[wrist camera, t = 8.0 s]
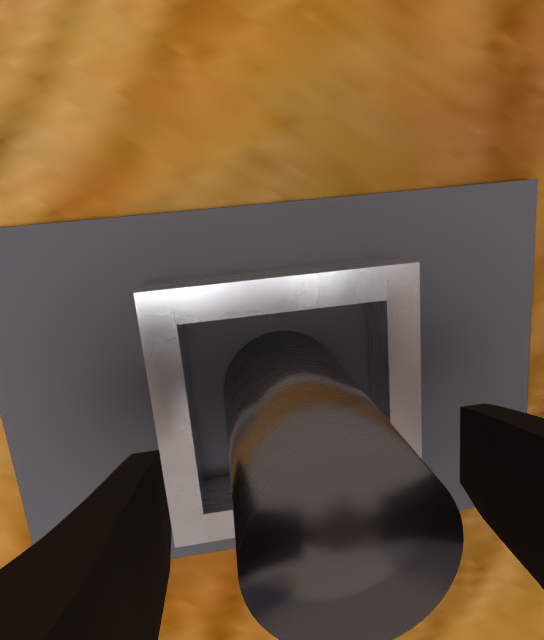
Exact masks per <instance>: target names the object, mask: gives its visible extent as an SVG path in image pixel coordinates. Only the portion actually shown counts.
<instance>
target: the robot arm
mask: <svg viewBox="0 0 544 640" xmlns="http://www.w3.org/2000/svg"><path fill="white" fill-rule="evenodd" d="M460 483H461V485H462V487H463V488H464V490H465V492H466V493H467V495H468V496H469V498H470V500H471V501H472V503H473V504H474V506H475V507H476V509H477V510H478V512H479V513H480V515H481V516H482V518H483V519H484V520H485V521H486V522H487V524H488V525H489V526H490V527H491V528H492V530H493V531H494V532H495V533H496V534H497V536H498V537H499V538H500V539H501V540H502V541H503V543H504V544H505V545H506V546H507V547H508V548H509V550H510V551H511V552H512V553H513V554H514V555H515V557H516V558H517V559H518V560H519V561H520V562H521V563H522V565H523V566H524V567H525V568H526V569H527V570H528V572H529V573H530V574H531V575H532V576H533V577H534V578H535V580H536V581H537V582H538V583H539V584H540V585H541V587H542V588H543V589H544V418H541V417H537V416H534V415H530V414H527V413H524V412H520V411H516V410H513V409H509V408H505V407H501V406H496V405H491V404H485V403H483V404H476V405H469V406H462V407H460ZM171 534H172V527H171V520H170V514H169V508H168V502H167V496H166V490H165V484H164V477H163V471H162V465H161V459H160V453H159V450H154V451H147V452H140V453H133V454H131V455H130V456H129V457H127V458H126V459H125V460H124V461H123V462H122V463H121V464H120V465H119V466H118V467H117V468H116V469H115V470H114V471H113V472H112V473H111V474H110V475H109V476H108V477H107V478H106V479H105V480H104V481H103V482H102V483H101V484H100V485H99V486H98V487H97V488H96V489H95V490H94V491H93V492H92V493H91V494H90V495H89V496H88V497H87V498H86V499H85V500H84V501H83V502H82V503H81V504H80V505H79V506H78V507H76V508H75V509H74V510H73V511H72V512H71V513H70V514H69V515H67V516H66V517H65V518H64V519H63V520H62V521H61V522H60V523H58V524H57V525H56V526H55V527H54V528H53V529H52V530H51V531H50V532H48V533H47V534H46V535H45V536H43V537H42V538H41V539H40V540H39V541H37V542H36V543H35V544H33V545H32V546H31V547H30V548H28V549H27V550H26V551H24V552H23V553H22V554H20V555H19V556H18V557H16V558H15V559H14V560H12V561H11V562H10V563H8V564H7V565H6V566H4V567H3V568H1V569H0V640H158V636H159V630H160V625H161V619H162V613H163V608H164V602H165V596H166V590H167V584H168V578H169V572H170V556H171Z"/></svg>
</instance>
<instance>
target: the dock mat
mask: <svg viewBox="0 0 544 640" xmlns="http://www.w3.org/2000/svg"><path fill="white" fill-rule="evenodd" d="M537 182H538V179H531V180H520V181H509V182H498V183H487V184H476V185H465V186H454V187H443V188H432V189H421V190H410V191H399V192H388V193H377V194H366V195H355V196H344V197H333V198H322V199H311V200H300V201H289V202H278V203H267V204H256V205H245V206H234V207H223V208H213V209H202V210H191V211H180V212H169V213H158V214H147V215H136V216H125V217H114V218H103V219H92V220H81V221H70V222H59V223H48V224H37V225H26V226H15V227H4V228H0V414H1V418H2V422H3V426H4V430H5V434H6V438H7V442H8V446H9V450H10V454H11V458H12V462H13V466H14V470H15V474H16V478H17V482H18V486H19V490H20V494H21V498H22V502H23V506H24V510H25V514H26V518H27V522H28V526H29V530H30V534H31V538H32V542H33V544H35V543H36V542H37V541H39V540H40V539H41V538H42V537H43V536H45V535H46V534H47V533H48V532H50V531H51V530H52V529H53V528H54V527H55V526H56V525H57V524H58V523H60V522H61V521H62V520H63V519H64V518H65V517H66V516H67V515H69V514H70V513H71V512H72V511H73V510H74V509H75V508H76V507H78V506H79V505H80V504H81V503H82V502H83V501H84V500H85V499H86V498H87V497H88V496H89V495H90V494H91V493H92V492H93V491H94V490H95V489H96V488H97V487H98V486H99V485H100V484H101V483H102V482H103V481H104V480H105V479H106V478H107V477H108V476H109V475H110V474H111V473H112V472H113V471H114V470H115V469H116V468H117V467H118V466H119V465H120V464H121V463H122V462H123V461H124V460H125V459H126V458H127V457H129V456H130V455H131V454H133V453H140V452H147V451H154V450H159V447H158V441H157V435H156V428H155V422H154V416H153V410H152V404H151V398H150V392H149V385H148V379H147V373H146V367H145V361H144V355H143V349H142V342H141V336H140V330H139V324H138V318H137V312H136V306H135V299H134V292H135V291H136V290H137V289H138V288H139V286H140V285H141V284H142V283H143V282H148V281H157V280H167V279H176V278H185V277H195V276H204V275H214V274H223V273H233V272H242V271H251V270H261V269H270V268H280V267H289V266H299V265H308V264H317V263H327V262H336V261H346V260H355V259H365V258H374V257H383V256H397V257H401V258H405V259H409V260H413V261H417V262H420V340H421V420H422V460H423V461H424V462H425V464H426V465H427V466H428V467H429V468H430V469H431V471H432V472H433V473H434V474H435V475H436V476H437V478H438V479H439V480H440V481H441V482H442V484H443V485H444V486H445V487H446V488H447V490H448V491H449V492H450V494H451V496H452V497H453V499H454V501H455V503H456V505H457V508H458V510H462V509H468V508H474V507H475V506H474V504H473V503H472V501H471V500H470V498H469V496H468V495H467V493H466V492H465V490H464V488H463V487H462V485H461V483H460V407H462V406H469V405H476V404H483V403H485V404H491V405H496V406H501V407H505V408H509V409H513V410H516V411H520V412H524V413H527V396H528V375H529V353H530V332H531V310H532V289H533V267H534V246H535V225H536V203H537ZM183 330H184V337H185V344H186V351H187V358H188V366H189V373H190V380H191V387H192V394H193V401H194V409H195V416H196V423H197V430H198V437H199V445H200V452H201V459H202V466H203V473H204V478H208V477H215V476H221V475H228V474H230V468H229V455H228V443H227V431H226V418H225V406H224V392H223V386H224V379H225V374H226V371H227V369H228V366H229V364H230V363H231V361H232V359H233V358H234V356H235V355H236V354H237V352H238V351H239V350H240V349H241V348H242V347H243V346H245V345H246V344H247V343H248V342H250V341H251V340H253V339H255V338H257V337H259V336H261V335H264V334H267V333H270V332H275V331H295V332H300V333H303V334H306V335H309V336H311V337H313V338H315V339H316V340H317V341H319V342H320V343H322V344H323V345H324V346H325V347H326V348H327V349H328V350H329V352H330V353H331V354H332V355H333V356H334V357H335V359H336V360H337V361H338V362H339V363H340V364H341V366H342V367H343V368H344V369H345V370H346V371H347V373H348V374H349V375H350V376H351V377H352V378H353V380H354V381H355V382H356V383H357V384H358V385H359V387H360V388H361V389H362V390H363V391H364V392H365V394H366V395H367V396H368V397H369V387H368V363H367V339H366V315H365V303H359V304H350V305H342V306H333V307H325V308H316V309H308V310H299V311H290V312H282V313H273V314H265V315H256V316H248V317H239V318H230V319H222V320H213V321H205V322H196V323H187V324H183ZM232 548H236V542H235V538H231V539H225V540H219V541H213V542H207V543H201V544H195V545H189V546H183V547H177V548H175V545H174V539H173V533H172V534H171V556H170V559H173V558H179V557H185V556H191V555H196V554H202V553H208V552H214V551H220V550H226V549H232Z"/></svg>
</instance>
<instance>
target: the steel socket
mask: <svg viewBox="0 0 544 640" xmlns="http://www.w3.org/2000/svg"><path fill="white" fill-rule="evenodd" d="M134 299H135V306H136V312H137V318H138V324H139V330H140V336H141V342H142V349H143V355H144V361H145V367H146V373H147V379H148V385H149V392H150V398H151V404H152V410H153V416H154V422H155V428H156V435H157V441H158V447H159V453H160V459H161V465H162V471H163V477H164V484H165V490H166V496H167V502H168V508H169V514H170V520H171V527H172V533H173V539H174V545H175V548H177V547H183V546H189V545H195V544H201V543H207V542H213V541H219V540H225V539H231V538H235V530H234V517H233V505H232V492H231V480H230V474H228V475H221V476H215V477H208V478H204V473H203V466H202V459H201V452H200V445H199V437H198V430H197V423H196V416H195V409H194V401H193V394H192V387H191V380H190V373H189V366H188V358H187V351H186V344H185V337H184V330H183V324H187V323H196V322H205V321H213V320H222V319H230V318H239V317H248V316H256V315H265V314H273V313H282V312H290V311H299V310H308V309H316V308H325V307H333V306H342V305H350V304H359V303H365V315H366V339H367V363H368V387H369V398H370V399H371V401H372V402H373V403H374V404H375V405H376V406H377V408H378V409H379V410H380V411H381V412H382V413H383V415H384V416H385V417H386V418H387V419H388V420H389V422H390V423H391V424H392V425H393V426H394V427H395V429H396V430H397V431H398V432H399V433H400V434H401V436H402V437H403V438H404V439H405V440H406V441H407V443H408V444H409V445H410V446H411V447H412V448H413V450H414V451H415V452H416V453H417V454H418V455H419V457H420V458H421V459H422V420H421V340H420V262H417V261H413V260H409V259H405V258H401V257H397V256H383V257H374V258H365V259H355V260H346V261H336V262H327V263H317V264H308V265H299V266H289V267H280V268H270V269H261V270H251V271H242V272H233V273H223V274H214V275H204V276H195V277H185V278H176V279H167V280H157V281H148V282H143V283H142V284H141V285H140V286H139V288H138V289H137V290H136V291H135V292H134Z"/></svg>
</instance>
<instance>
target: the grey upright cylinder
mask: <svg viewBox="0 0 544 640" xmlns="http://www.w3.org/2000/svg"><path fill="white" fill-rule="evenodd" d="M223 392H224V406H225V418H226V431H227V443H228V455H229V468H230V480H231V492H232V505H233V517H234V530H235V542H236V554H237V567H238V579H239V584H240V589H241V593H242V595H243V598H244V601H245V603H246V605H247V607H248V609H249V610H250V612H251V614H252V615H253V616H254V618H255V619H256V620H257V621H258V623H259V624H260V625H261V626H262V627H263V628H264V629H266V630H267V631H268V632H269V633H270V634H272V635H273V636H275V637H276V638H278V639H279V640H393V639H395V638H397V637H399V636H401V635H402V634H404V633H405V632H407V631H409V630H410V629H412V628H413V627H414V626H416V625H417V624H418V623H419V622H421V621H422V620H423V619H424V618H425V617H426V616H427V615H428V614H429V613H431V612H432V611H433V609H434V608H435V607H436V606H437V605H438V604H439V602H440V601H441V600H442V598H443V597H444V596H445V594H446V593H447V591H448V590H449V588H450V586H451V584H452V582H453V580H454V578H455V576H456V573H457V570H458V568H459V565H460V561H461V556H462V552H463V525H462V521H461V516H460V513H459V510H458V508H457V505H456V503H455V501H454V499H453V497H452V496H451V494H450V492H449V491H448V490H447V488H446V487H445V486H444V485H443V484H442V482H441V481H440V480H439V479H438V478H437V476H436V475H435V474H434V473H433V472H432V471H431V469H430V468H429V467H428V466H427V465H426V464H425V462H424V461H423V460H422V459H421V458H420V457H419V455H418V454H417V453H416V452H415V451H414V450H413V448H412V447H411V446H410V445H409V444H408V443H407V441H406V440H405V439H404V438H403V437H402V436H401V434H400V433H399V432H398V431H397V430H396V429H395V427H394V426H393V425H392V424H391V423H390V422H389V420H388V419H387V418H386V417H385V416H384V415H383V413H382V412H381V411H380V410H379V409H378V408H377V406H376V405H375V404H374V403H373V402H372V401H371V399H370V398H369V397H368V396H367V395H366V394H365V392H364V391H363V390H362V389H361V388H360V387H359V385H358V384H357V383H356V382H355V381H354V380H353V378H352V377H351V376H350V375H349V374H348V373H347V371H346V370H345V369H344V368H343V367H342V366H341V364H340V363H339V362H338V361H337V360H336V359H335V357H334V356H333V355H332V354H331V353H330V352H329V350H328V349H327V348H326V347H325V346H324V345H323V344H322V343H320V342H319V341H317V340H316V339H315V338H313V337H311V336H309V335H306V334H303V333H300V332H295V331H275V332H270V333H267V334H264V335H261V336H259V337H257V338H255V339H253V340H251V341H250V342H248V343H247V344H246V345H245V346H243V347H242V348H241V349H240V350H239V351H238V352H237V354H236V355H235V356H234V358H233V359H232V361H231V363H230V364H229V366H228V369H227V371H226V374H225V379H224V386H223Z"/></svg>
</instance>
